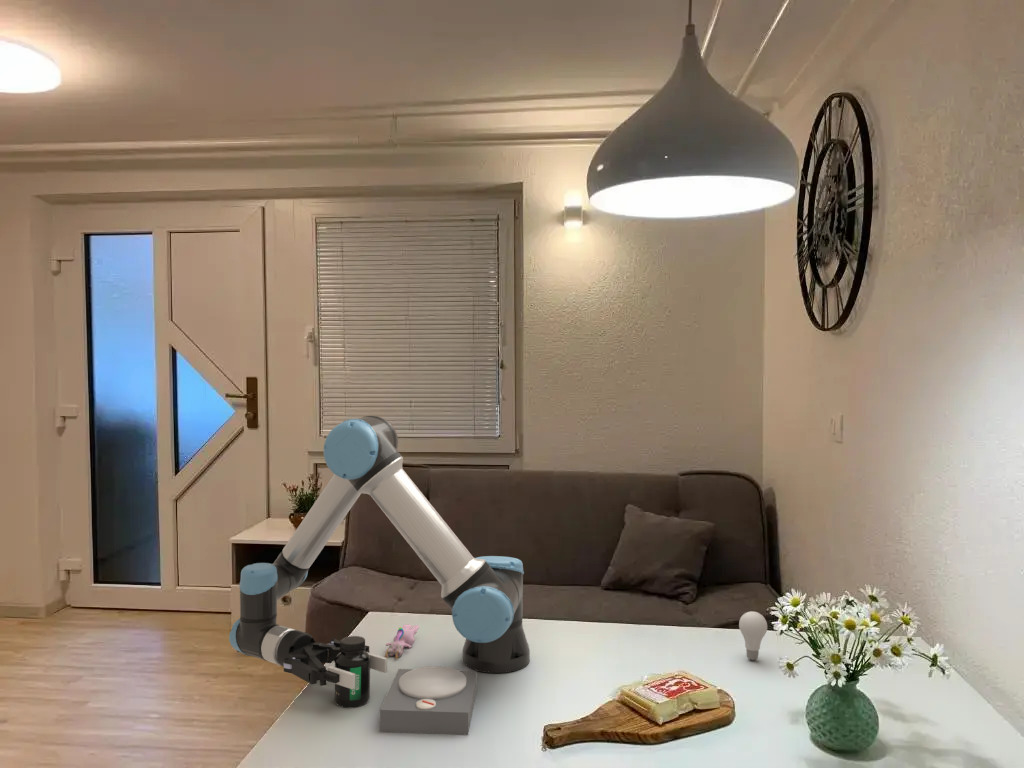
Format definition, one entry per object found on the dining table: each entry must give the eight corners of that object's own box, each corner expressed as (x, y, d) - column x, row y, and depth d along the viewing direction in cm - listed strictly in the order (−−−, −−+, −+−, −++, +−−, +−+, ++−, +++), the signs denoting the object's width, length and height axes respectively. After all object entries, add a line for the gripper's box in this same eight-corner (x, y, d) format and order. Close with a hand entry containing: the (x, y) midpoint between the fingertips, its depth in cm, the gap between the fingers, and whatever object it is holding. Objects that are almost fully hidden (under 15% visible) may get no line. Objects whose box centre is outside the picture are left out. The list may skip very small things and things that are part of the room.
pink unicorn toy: (404, 667, 169) (426, 633, 183) (403, 642, 167) (425, 610, 182) (378, 664, 170) (402, 630, 184) (376, 640, 169) (401, 608, 183)
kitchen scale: (398, 688, 154) (398, 664, 154) (476, 690, 154) (476, 666, 154) (379, 731, 136) (379, 704, 136) (468, 734, 136) (468, 707, 136)
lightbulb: (750, 652, 176) (751, 606, 175) (772, 661, 171) (773, 613, 170) (732, 658, 172) (733, 610, 172) (754, 667, 167) (755, 618, 167)
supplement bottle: (362, 710, 145) (363, 648, 144) (328, 706, 146) (329, 645, 146) (374, 694, 152) (375, 635, 151) (342, 691, 153) (342, 632, 152)
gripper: (326, 649, 167) (405, 673, 155) (247, 683, 149) (330, 713, 137) (326, 616, 167) (406, 637, 155) (247, 646, 149) (330, 672, 137)
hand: (370, 673), depth 146 cm, fingers open, 8 cm apart
